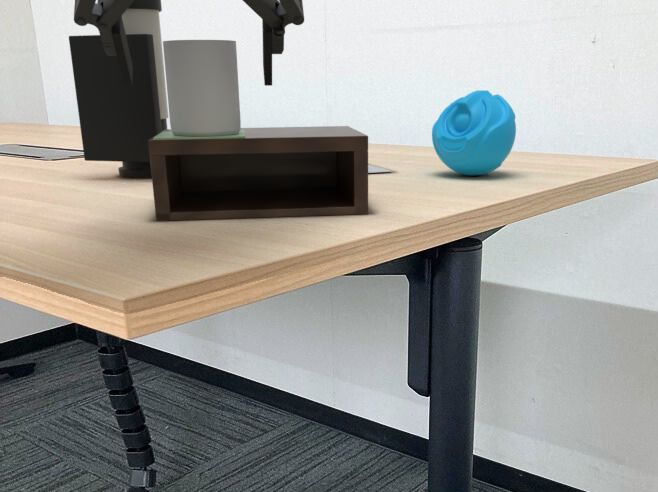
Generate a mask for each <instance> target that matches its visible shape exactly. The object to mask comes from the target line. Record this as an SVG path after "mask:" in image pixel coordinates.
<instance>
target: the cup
mask: <svg viewBox="0 0 658 492" xmlns="http://www.w3.org/2000/svg"><path fill="white" fill-rule="evenodd" d="M162 50H163V62H164V73H165V84H166V95H167V106H168V118H169V125H170V129H171V131H172V133H173V134H174V135H176V136H225V135H235V134H239V132H240V129H241V128H242V126H241V125H242V124H241V123H242V122H241V121H242V120H241V105H240V85H239V72H238V71H239V69H238V53H237V40H230V39H173V40H162Z"/></svg>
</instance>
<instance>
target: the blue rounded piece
mask: <svg viewBox="0 0 658 492" xmlns="http://www.w3.org/2000/svg"><path fill="white" fill-rule="evenodd" d="M516 135H517V126H516V114H515V112H514V109H513V108H512V106H511V105H510V103H509V102H508V101H507V100H506V99H505V98H504V97H503V96H502V95H500V94H492V93H491V92H490V91H489V90H487V89H486V90H483V89H481V90H480V89H478V90H474V91H472V92H470V93H467V95H465V96H461V97H459V98H457V99H456V100H454V101H452V102H451V103H450V104H448V106H446V107H445V108H444V110H442V112H441V113H440V114H439V116H438V119H437V120H436V121H435V122H434V123H433V125H432V129H431V141H432V145H433V148H434V150H435V154H436V155H437V157H438V158H439V160H440V161H441V162H442V164H444V165H445V166H446V167H447V168H448V169H450V170H451V171H453V172H454V173H457V174H460V175H464V176H469V177H470V176H471V177H474V176H475V177H477V176H481V175H487V174H489V173H492V172H494V171H495V170H497V169H499V168H500V167H501V166H502V164H503V162H504V161H505V160H506V159H507V158H508V156H509V155H510V153H511V151H512V149H513V147H514V144H515V141H516Z"/></svg>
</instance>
